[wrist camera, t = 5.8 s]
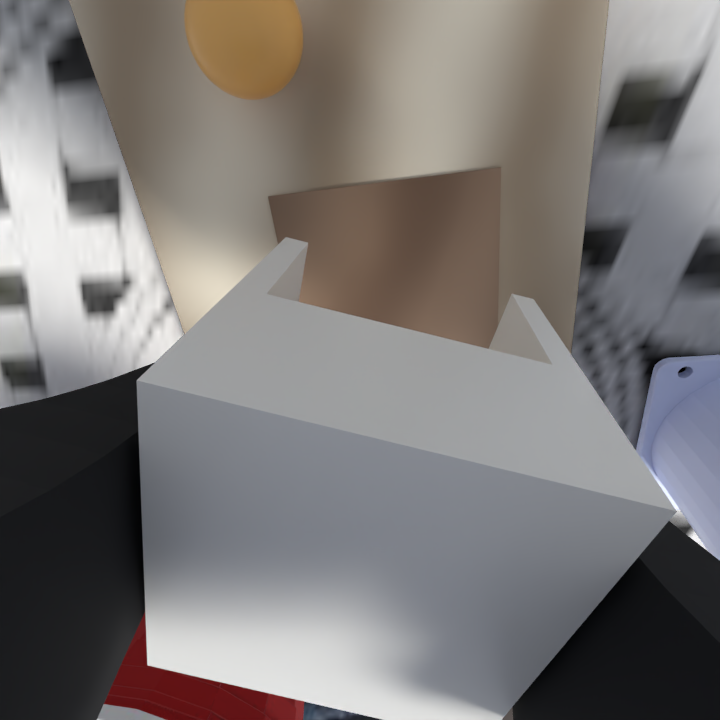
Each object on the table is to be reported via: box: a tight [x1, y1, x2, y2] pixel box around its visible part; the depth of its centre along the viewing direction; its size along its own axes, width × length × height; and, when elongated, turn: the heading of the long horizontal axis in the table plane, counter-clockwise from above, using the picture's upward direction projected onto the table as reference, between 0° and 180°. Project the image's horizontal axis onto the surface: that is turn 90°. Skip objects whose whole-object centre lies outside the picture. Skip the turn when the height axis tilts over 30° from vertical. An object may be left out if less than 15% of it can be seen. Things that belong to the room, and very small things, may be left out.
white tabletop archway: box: [137, 237, 677, 720], centre depth 8 cm, size 6×6×6 cm
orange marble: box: [184, 0, 303, 100], centre depth 12 cm, size 3×3×3 cm
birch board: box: [69, 0, 609, 354], centre depth 15 cm, size 15×17×1 cm
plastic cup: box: [97, 613, 304, 720], centre depth 20 cm, size 11×11×12 cm
